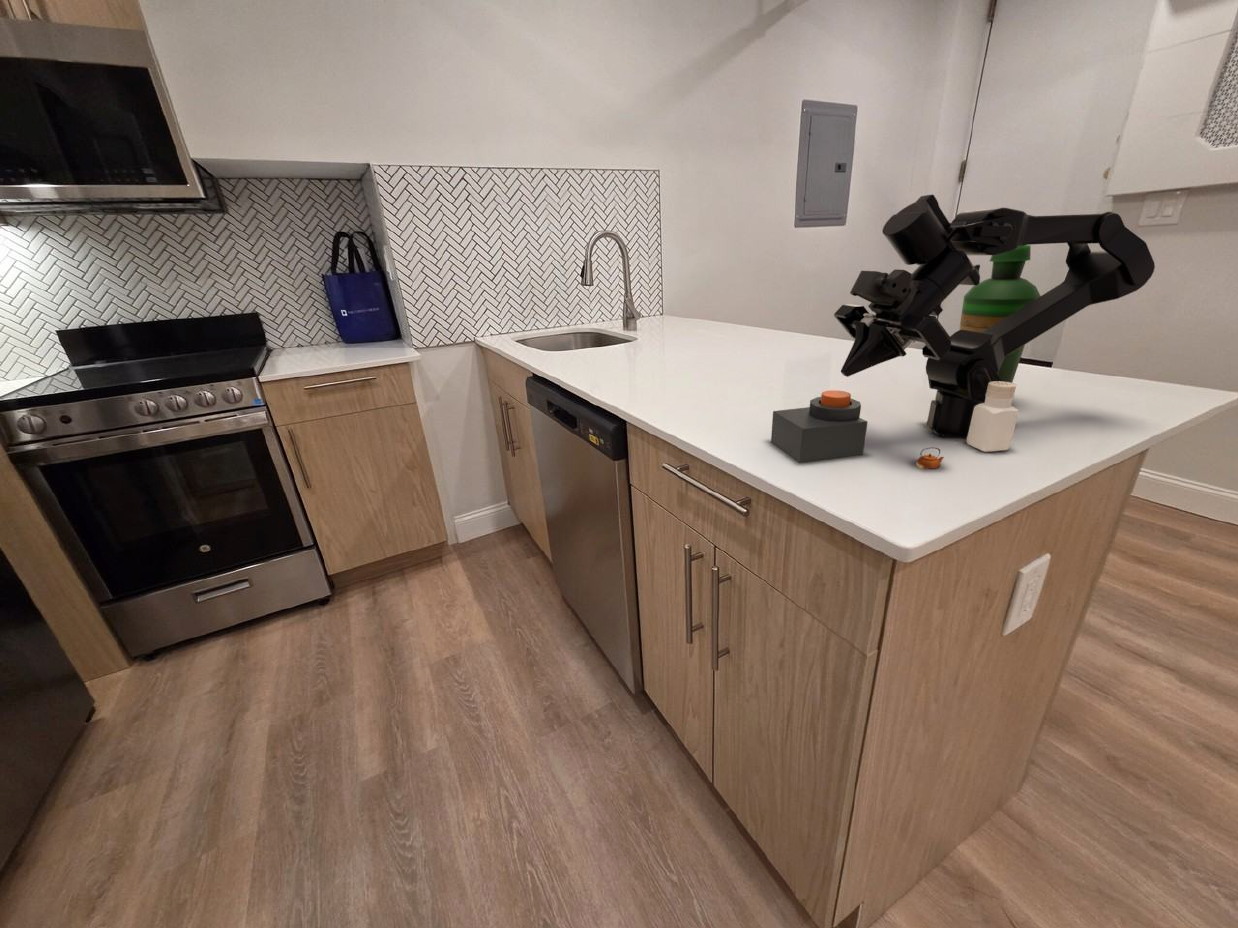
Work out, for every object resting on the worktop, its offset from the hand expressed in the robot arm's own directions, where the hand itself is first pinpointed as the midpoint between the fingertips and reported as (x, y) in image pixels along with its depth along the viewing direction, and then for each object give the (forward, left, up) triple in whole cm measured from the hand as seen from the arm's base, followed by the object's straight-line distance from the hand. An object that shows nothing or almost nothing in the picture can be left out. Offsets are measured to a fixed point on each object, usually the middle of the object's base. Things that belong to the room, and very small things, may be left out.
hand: (843, 374), depth 73 cm
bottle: (-28, -26, -11) cm, 40 cm away
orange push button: (+1, 0, -5) cm, 5 cm away
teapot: (-11, +6, -11) cm, 17 cm away
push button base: (+3, +1, -11) cm, 12 cm away
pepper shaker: (-21, -2, -11) cm, 24 cm away
